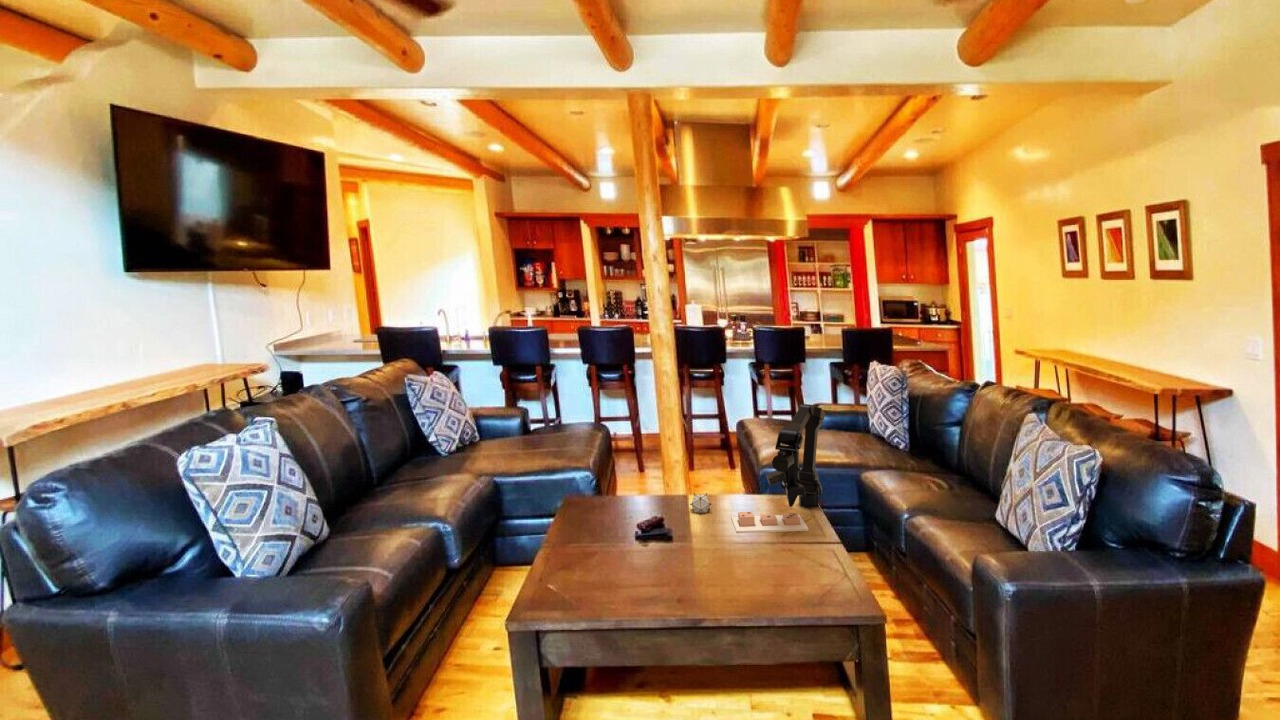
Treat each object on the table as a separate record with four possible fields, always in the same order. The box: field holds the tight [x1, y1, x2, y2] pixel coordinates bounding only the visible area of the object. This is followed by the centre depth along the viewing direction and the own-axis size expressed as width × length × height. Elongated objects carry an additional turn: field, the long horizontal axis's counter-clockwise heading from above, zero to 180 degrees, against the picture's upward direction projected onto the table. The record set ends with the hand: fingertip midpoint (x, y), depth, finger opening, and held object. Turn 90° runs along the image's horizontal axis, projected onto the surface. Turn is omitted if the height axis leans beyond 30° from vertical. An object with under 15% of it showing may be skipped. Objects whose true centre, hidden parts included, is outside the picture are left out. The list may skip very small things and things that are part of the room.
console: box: [730, 513, 810, 534], centre depth 216 cm, size 25×13×2 cm, turn 89°
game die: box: [689, 492, 712, 514], centre depth 231 cm, size 9×8×10 cm
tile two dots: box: [737, 511, 755, 527], centre depth 216 cm, size 5×5×4 cm
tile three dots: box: [782, 512, 800, 525], centre depth 216 cm, size 5×5×4 cm
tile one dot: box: [759, 513, 777, 526], centre depth 216 cm, size 5×5×4 cm
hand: (790, 506), depth 215 cm, fingers closed
